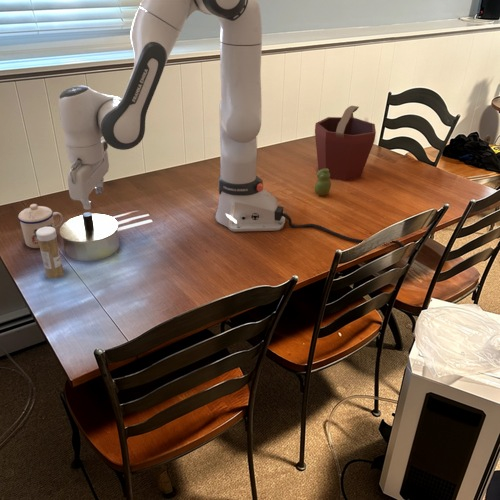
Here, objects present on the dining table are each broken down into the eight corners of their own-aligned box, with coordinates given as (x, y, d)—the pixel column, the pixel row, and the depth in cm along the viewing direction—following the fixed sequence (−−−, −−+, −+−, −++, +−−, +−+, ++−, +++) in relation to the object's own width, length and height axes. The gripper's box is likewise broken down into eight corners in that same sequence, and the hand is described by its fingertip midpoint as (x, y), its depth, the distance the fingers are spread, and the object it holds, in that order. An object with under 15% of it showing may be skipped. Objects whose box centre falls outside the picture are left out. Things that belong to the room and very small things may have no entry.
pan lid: (125, 219, 142) (123, 203, 139) (108, 247, 129) (105, 230, 126) (73, 215, 143) (70, 200, 140) (50, 243, 130) (46, 226, 127)
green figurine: (321, 199, 170) (325, 173, 165) (310, 194, 174) (313, 168, 168) (332, 195, 174) (335, 169, 168) (321, 190, 177) (324, 164, 172)
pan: (125, 237, 145) (123, 218, 141) (109, 264, 132) (107, 244, 129) (77, 233, 146) (74, 214, 142) (57, 260, 133) (53, 240, 130)
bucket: (331, 156, 206) (339, 96, 192) (380, 169, 195) (392, 107, 182) (301, 174, 189) (307, 110, 175) (353, 190, 178) (364, 122, 165)
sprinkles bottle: (66, 276, 127) (57, 231, 120) (48, 281, 125) (38, 236, 118) (61, 268, 130) (52, 224, 123) (44, 273, 128) (33, 228, 121)
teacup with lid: (34, 253, 136) (25, 216, 130) (18, 240, 141) (9, 204, 135) (73, 237, 143) (66, 202, 137) (57, 226, 149) (50, 192, 142)
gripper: (82, 168, 117) (92, 219, 124) (109, 139, 134) (116, 185, 141) (57, 167, 117) (68, 218, 125) (87, 138, 134) (95, 184, 142)
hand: (94, 200), depth 133 cm, fingers open, 8 cm apart
